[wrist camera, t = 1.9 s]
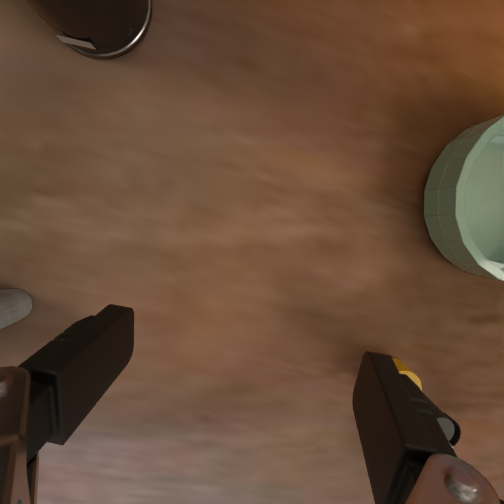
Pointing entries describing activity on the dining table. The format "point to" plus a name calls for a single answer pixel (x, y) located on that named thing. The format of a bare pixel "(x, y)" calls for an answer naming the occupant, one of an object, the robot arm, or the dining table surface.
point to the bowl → (469, 200)
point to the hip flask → (13, 306)
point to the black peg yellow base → (428, 401)
